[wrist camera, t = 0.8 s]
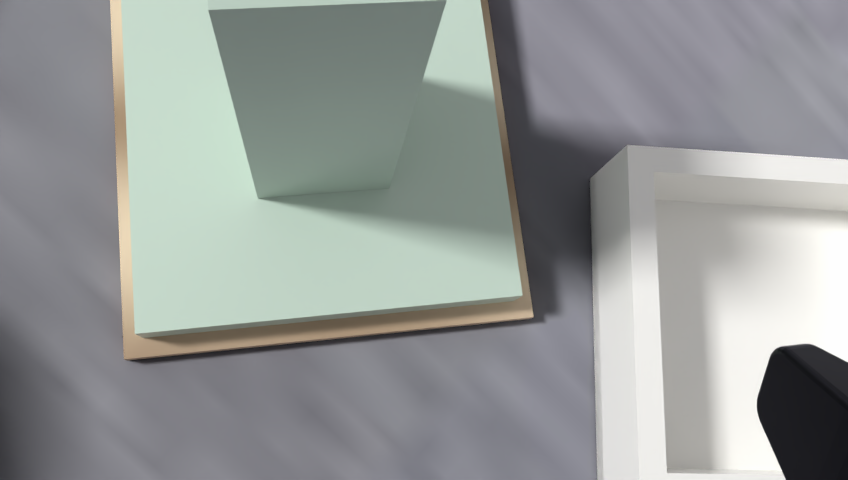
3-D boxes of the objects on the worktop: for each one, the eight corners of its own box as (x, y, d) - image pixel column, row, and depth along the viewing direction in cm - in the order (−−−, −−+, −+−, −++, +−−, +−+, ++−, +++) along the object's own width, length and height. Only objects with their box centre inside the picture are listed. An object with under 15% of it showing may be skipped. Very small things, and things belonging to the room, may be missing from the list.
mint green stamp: (513, 301, 23) (688, 190, 12) (143, 337, 21) (-34, 249, 10) (468, -22, 25) (583, -361, 14) (128, -10, 23) (-33, -379, 13)
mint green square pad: (530, 318, 23) (533, 317, 23) (127, 360, 21) (123, 359, 21) (480, -31, 25) (482, -38, 25) (112, -18, 24) (109, -25, 23)
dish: (900, 497, 23) (983, 507, 20) (597, 493, 22) (640, 503, 19) (868, 195, 25) (940, 166, 22) (590, 178, 24) (627, 144, 21)
